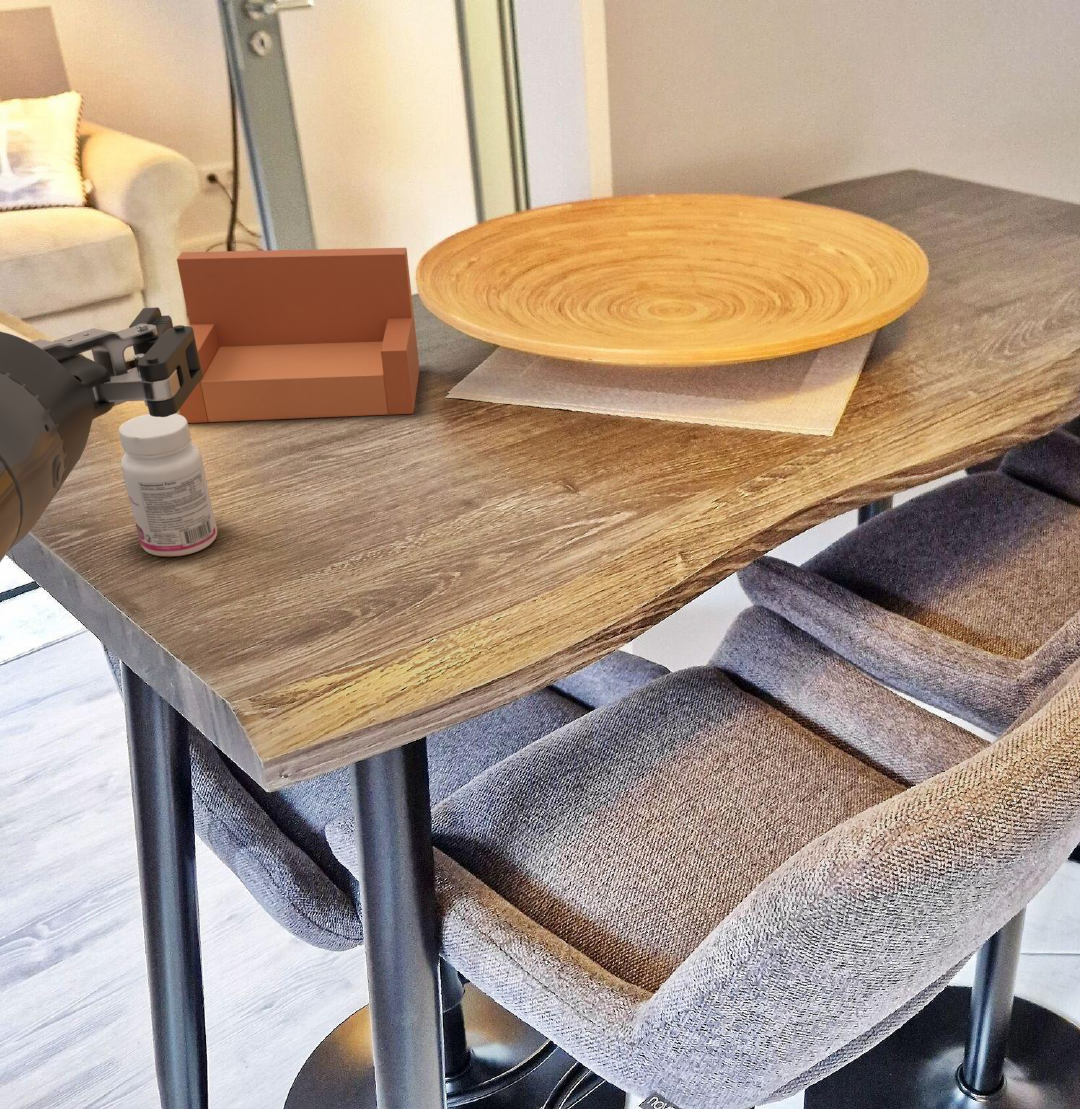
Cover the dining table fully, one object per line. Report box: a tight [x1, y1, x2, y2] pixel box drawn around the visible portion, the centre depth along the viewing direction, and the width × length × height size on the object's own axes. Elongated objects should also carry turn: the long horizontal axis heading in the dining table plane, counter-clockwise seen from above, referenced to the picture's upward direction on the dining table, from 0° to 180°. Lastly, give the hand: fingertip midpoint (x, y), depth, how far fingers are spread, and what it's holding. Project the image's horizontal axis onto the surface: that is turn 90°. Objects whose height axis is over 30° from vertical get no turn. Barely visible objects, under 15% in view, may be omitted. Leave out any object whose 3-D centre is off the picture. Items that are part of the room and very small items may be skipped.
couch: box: [176, 247, 421, 424], centre depth 101 cm, size 18×10×11 cm, turn 100°
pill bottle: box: [118, 413, 218, 557], centre depth 79 cm, size 5×5×8 cm
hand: (67, 331), depth 63 cm, fingers open, 8 cm apart
